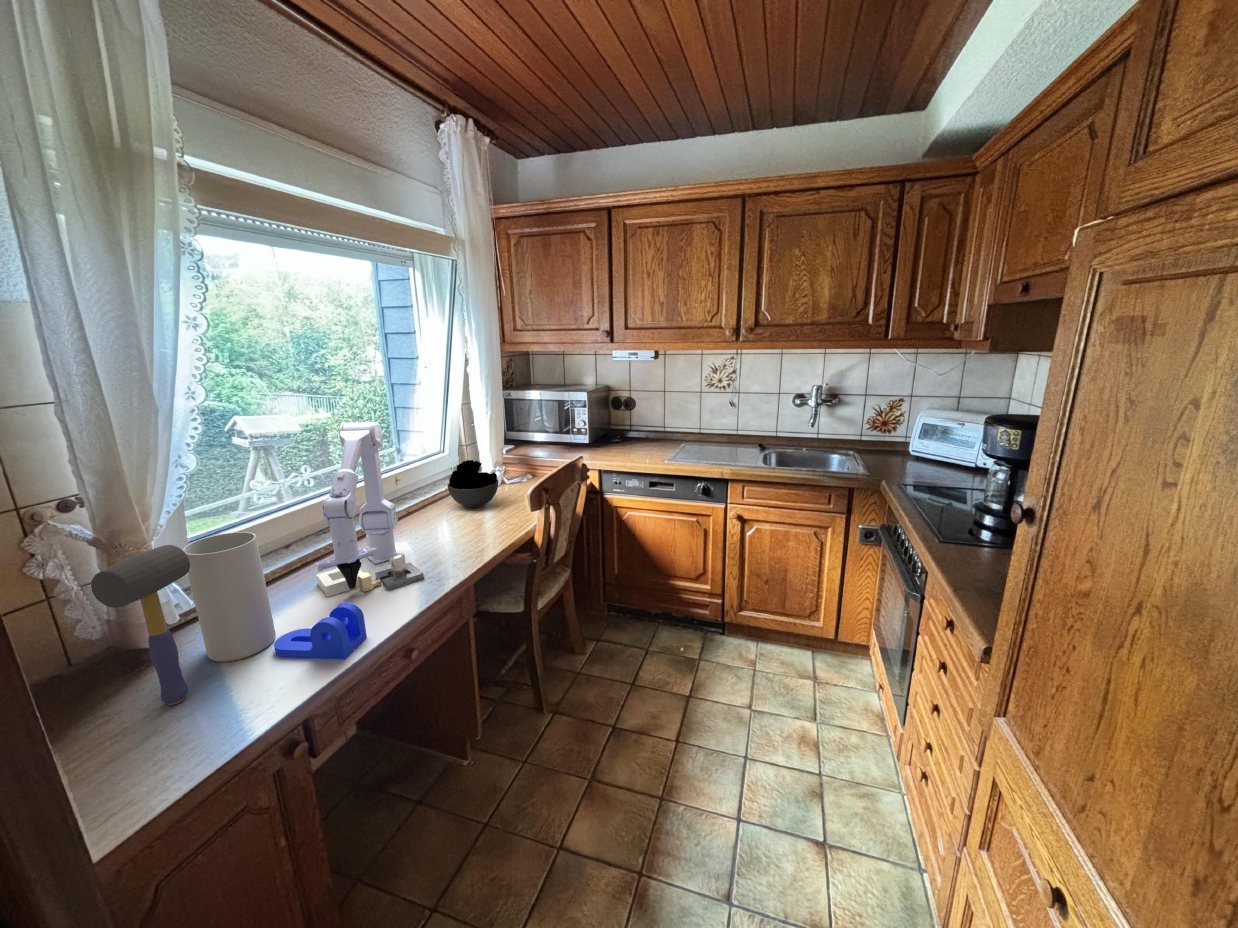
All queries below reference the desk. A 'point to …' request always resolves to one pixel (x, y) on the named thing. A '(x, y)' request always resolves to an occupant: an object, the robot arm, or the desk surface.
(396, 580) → the socket block
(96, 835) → the desk surface
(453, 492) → the bowl of black rocks
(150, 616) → the rubber mallet
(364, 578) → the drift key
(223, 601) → the cylinder vase
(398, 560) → the metal cylinder
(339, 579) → the white square block
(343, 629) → the bracket
